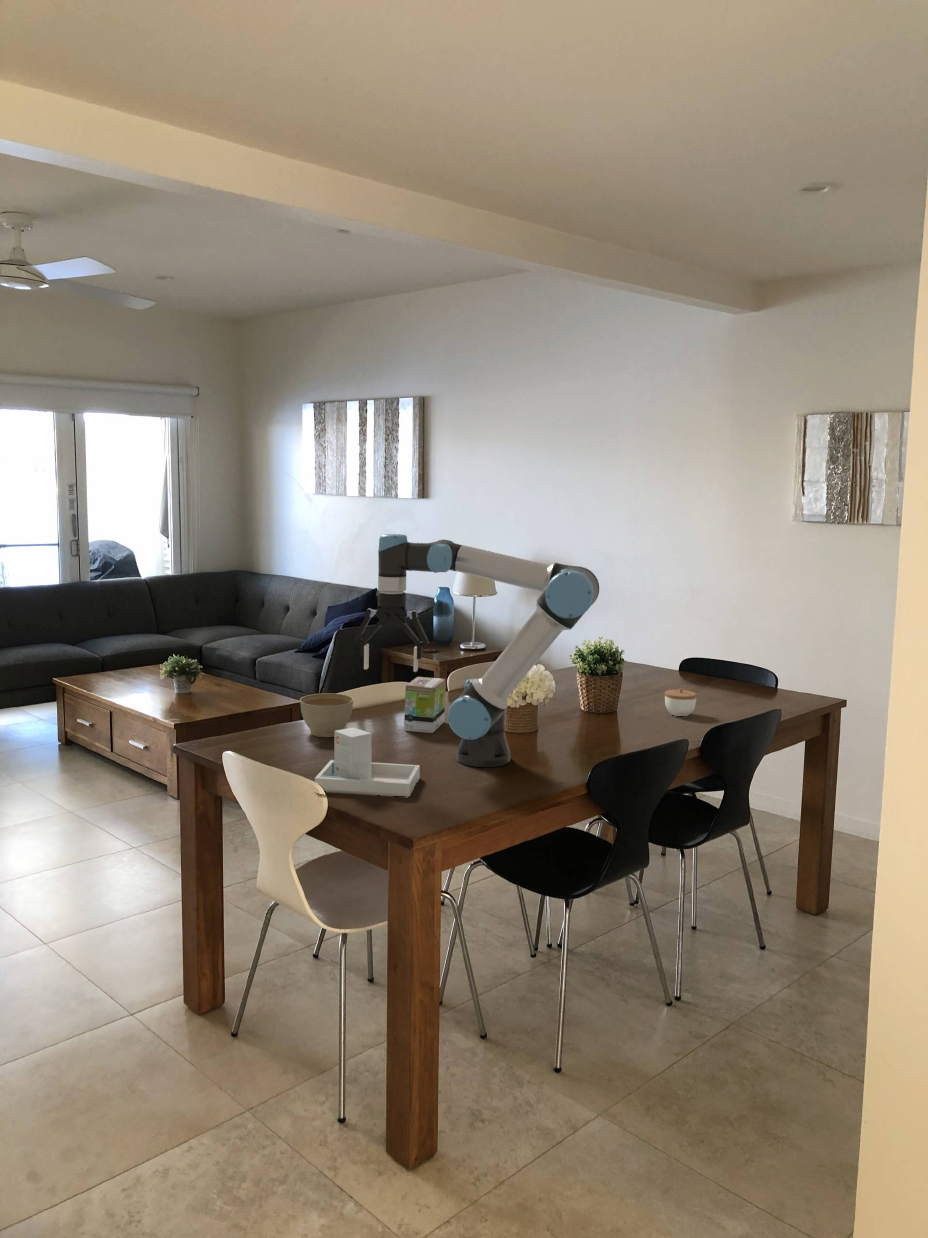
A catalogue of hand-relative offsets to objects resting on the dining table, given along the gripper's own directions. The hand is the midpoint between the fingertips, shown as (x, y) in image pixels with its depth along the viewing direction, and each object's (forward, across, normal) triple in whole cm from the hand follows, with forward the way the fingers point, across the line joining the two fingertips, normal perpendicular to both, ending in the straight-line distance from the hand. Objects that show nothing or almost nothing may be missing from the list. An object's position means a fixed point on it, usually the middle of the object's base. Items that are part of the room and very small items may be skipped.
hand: (390, 669), depth 267 cm
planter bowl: (+27, +25, -28) cm, 46 cm away
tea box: (+27, -3, -43) cm, 51 cm away
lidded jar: (+27, -86, -77) cm, 119 cm away
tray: (+27, +2, +18) cm, 32 cm away
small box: (+26, +6, +18) cm, 32 cm away
